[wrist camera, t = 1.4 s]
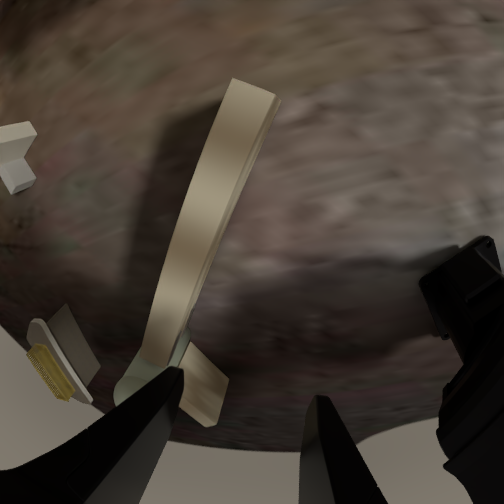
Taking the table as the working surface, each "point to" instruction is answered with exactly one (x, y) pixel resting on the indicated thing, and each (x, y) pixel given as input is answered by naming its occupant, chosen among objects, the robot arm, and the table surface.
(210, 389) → the block
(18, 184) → the cream l-shaped block
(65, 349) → the platform
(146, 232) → the table surface
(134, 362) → the hinge post
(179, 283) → the cream wooden bar
